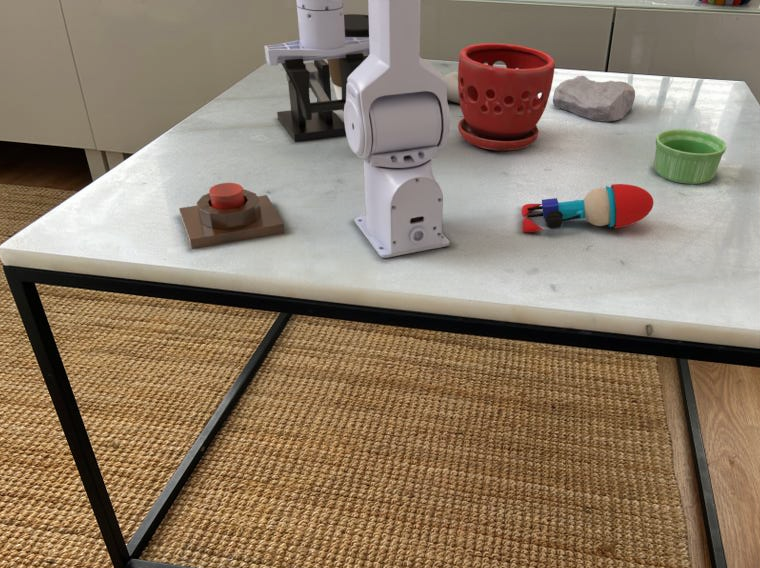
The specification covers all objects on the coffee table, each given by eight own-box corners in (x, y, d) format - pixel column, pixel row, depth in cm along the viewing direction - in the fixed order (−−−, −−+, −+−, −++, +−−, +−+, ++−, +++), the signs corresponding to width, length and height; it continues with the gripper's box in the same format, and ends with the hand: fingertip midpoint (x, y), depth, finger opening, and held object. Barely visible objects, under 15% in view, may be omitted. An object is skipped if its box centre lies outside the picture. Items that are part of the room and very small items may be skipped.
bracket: (349, 136, 104) (345, 69, 98) (295, 142, 101) (288, 74, 96) (329, 113, 111) (324, 50, 105) (277, 119, 108) (270, 54, 103)
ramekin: (638, 162, 100) (644, 130, 97) (696, 157, 101) (704, 127, 99) (669, 189, 93) (677, 156, 90) (731, 183, 95) (740, 151, 92)
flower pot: (480, 163, 98) (485, 71, 90) (441, 130, 107) (443, 45, 100) (562, 150, 102) (574, 62, 95) (518, 120, 111) (525, 38, 104)
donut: (433, 105, 116) (494, 109, 115) (433, 83, 114) (495, 87, 113) (445, 86, 124) (503, 91, 123) (445, 66, 122) (504, 70, 120)
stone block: (612, 135, 112) (637, 106, 117) (614, 106, 109) (639, 77, 114) (544, 122, 117) (571, 94, 123) (543, 94, 114) (571, 67, 119)
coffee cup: (354, 86, 122) (351, 9, 115) (405, 100, 117) (404, 21, 110) (309, 102, 115) (302, 21, 108) (360, 118, 110) (357, 34, 103)
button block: (268, 204, 86) (264, 180, 84) (284, 233, 80) (281, 208, 78) (181, 217, 82) (175, 193, 80) (192, 249, 77) (186, 224, 75)
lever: (346, 114, 98) (346, 98, 96) (310, 119, 96) (310, 102, 94) (322, 77, 104) (322, 60, 102) (288, 80, 102) (287, 64, 101)
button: (241, 195, 81) (239, 180, 80) (248, 208, 79) (246, 193, 78) (209, 199, 80) (206, 185, 79) (214, 213, 78) (212, 198, 77)
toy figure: (524, 248, 82) (659, 234, 80) (521, 207, 79) (659, 192, 78) (522, 223, 88) (646, 209, 87) (518, 184, 86) (647, 169, 84)
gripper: (365, -5, 94) (368, 100, 103) (254, 1, 89) (267, 111, 98) (383, 7, 89) (386, 116, 98) (267, 15, 84) (280, 129, 93)
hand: (327, 115), depth 97 cm, fingers closed on lever, 5 cm apart
